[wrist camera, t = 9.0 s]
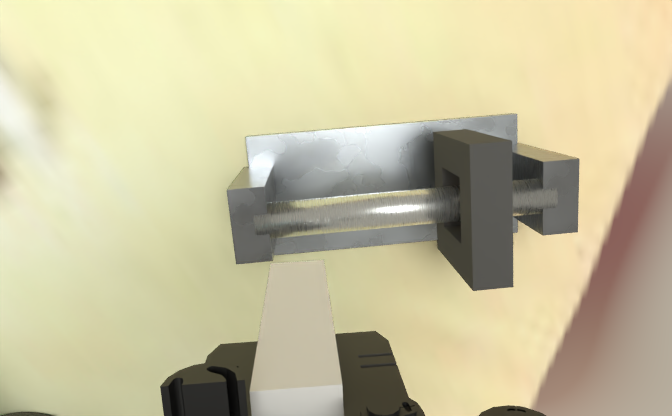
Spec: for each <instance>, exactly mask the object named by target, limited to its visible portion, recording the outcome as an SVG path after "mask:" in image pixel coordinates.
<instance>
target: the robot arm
mask: <svg viewBox="0 0 672 416" xmlns="http://www.w3.org/2000/svg"><path fill="white" fill-rule="evenodd" d="M160 388H161V395H162V403H163V411H164V416H425V414H424V412H423V410H422V409H421V407H420V406H419V405H418V403H417V402H415V401H413V400H412V399H410V398H409V397H408V394H407V392H406V389H405V386H404V383H403V380H402V378H401V375H400V372H399V369H398V366H397V365H396V361H395V358H394V355H393V353H392V350H391V347H390V344H389V341H388V340H387V339H385V338H384V337H383V336H381V335H380V334H379V333H377V332H376V331H370V332H356V333H343V334H335V331H334V324H333V317H332V311H331V304H330V297H329V290H328V284H327V277H326V270H325V263H324V260H313V261H297V262H282V263H271V264H270V270H269V276H268V282H267V288H266V294H265V300H264V307H263V313H262V319H261V325H260V331H259V337H258V341H257V342H244V343H230V344H220V345H219V346H218V347H217V348H216V349H215V350H214V351H213V352H212V353H210V354H209V355H208V356H207V359H206V362H205V363H204V364H198V365H193V366H190V367H188V368H185V369H182V370H179V371H178V372H176V373H174V374H173V375H171V376H170V377H168V378H167V379H166V380H165V382H164V383H163V384H162V385H161V386H160ZM1 416H51V415H46V414H40V413H29V412H26V413H12V414H6V415H1ZM479 416H546V415H544V414H542V413H540V412H537V411H534V410H531V409H528V408H525V407H520V406H500V407H493V408H490V409H488V410H486V411H483V412H482V413H481V414H480V415H479Z"/></svg>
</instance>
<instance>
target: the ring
mask: <svg viewBox="0 0 672 416" xmlns="http://www.w3.org/2000/svg"><path fill="white" fill-rule="evenodd" d="M433 143H434V168H435V188H437V187H448V186H459V185H460V212H461V221H454V222H444V223H437V245H438V249H439V250H440V251H441V253H442V254H443V255H444V256H445V258H446V259H447V260H448V261H449V262H450V264H451V265H452V266H453V267H454V268H455V270H456V271H457V272H458V273H459V274H460V276H461V277H462V278H463V279H464V280H465V282H466V283H467V284H468V285H469V286H470V288H471V289H472V290H473V291H477V290H487V289H497V288H507V287H513V180H512V141H511V140H507V139H503V138H499V137H495V136H492V135H488V134H484V133H480V132H476V131H472V130H468V129H461V130H450V131H438V132H433Z"/></svg>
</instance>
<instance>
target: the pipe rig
mask: <svg viewBox="0 0 672 416" xmlns="http://www.w3.org/2000/svg"><path fill="white" fill-rule="evenodd" d="M461 129H468V130H472V131H476V132H480V133H484V134H488V135H492V136H495V137H499V138H503V139H507V140H511V141H512V180H513V233H517V232H518V220H519V221H520V222H522V223H524V224H525V225H527V226H529V227H530V228H532V229H533V230H535V231H537V232H538V233H540V234H541V235H552V234H562V233H573V232H578V195H579V158H575V157H571V156H567V155H563V154H560V153H556V152H552V151H548V150H544V149H540V148H536V147H532V146H529V145H525V144H521V143H517V114H514V113H513V114H501V115H489V116H477V117H466V118H454V119H442V120H430V121H419V122H407V123H395V124H383V125H372V126H360V127H348V128H337V129H325V130H313V131H301V132H290V133H278V134H266V135H254V136H246V146H247V154H248V163H249V167H244V168H243V169H242V171H241V172H240V173H239V174H238V176H237V177H236V178H235V180H234V181H233V182H232V184H231V185H230V186H229V188H228V189H227V196H228V204H229V212H230V219H231V227H232V235H233V243H234V251H235V258H236V264H244V263H255V262H265V261H273V256H274V255H282V254H293V253H304V252H314V251H325V250H336V249H346V248H357V247H367V246H378V245H389V244H399V243H410V242H421V241H431V240H437V223H444V222H454V221H461V212H460V185H459V186H448V187H437V188H435V168H434V143H433V132H438V131H450V130H461Z"/></svg>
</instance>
